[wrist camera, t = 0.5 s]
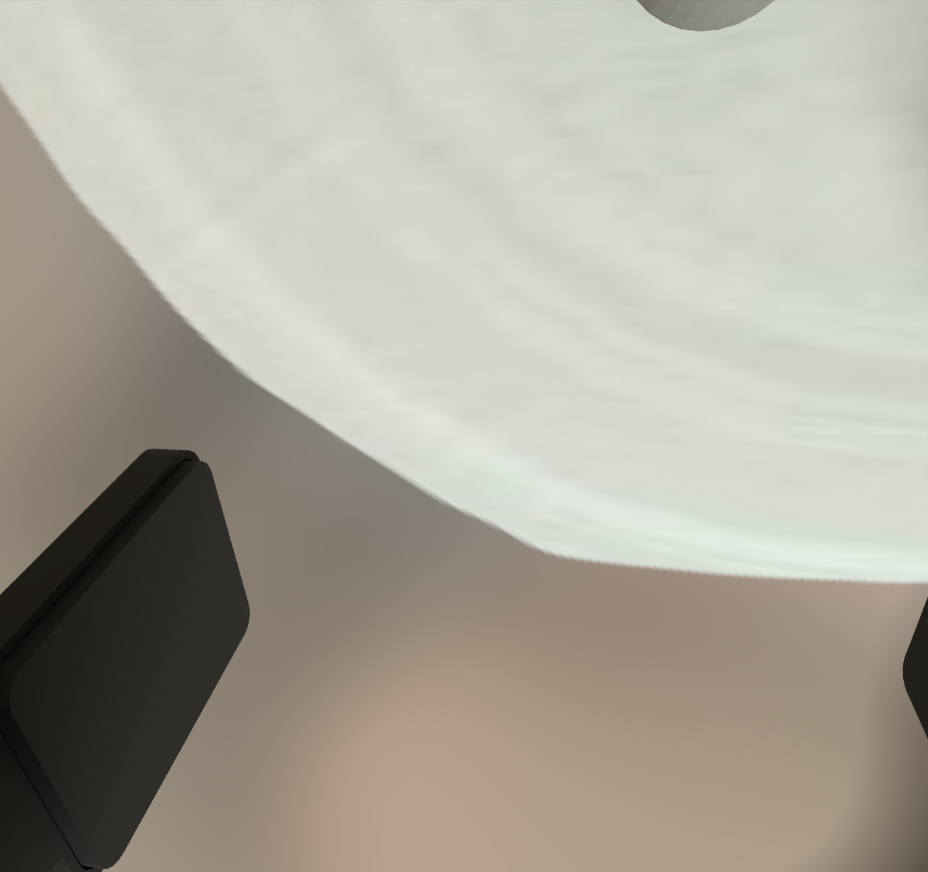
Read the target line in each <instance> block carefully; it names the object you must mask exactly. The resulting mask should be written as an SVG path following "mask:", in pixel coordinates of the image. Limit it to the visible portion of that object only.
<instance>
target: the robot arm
mask: <svg viewBox="0 0 928 872" xmlns="http://www.w3.org/2000/svg"><path fill="white" fill-rule="evenodd" d="M249 616H250V609H249V604H248V600H247V597H246V593H245V589H244V586H243V583H242V579H241V575H240V572H239V568H238V565H237V561H236V558H235V554H234V550H233V547H232V543H231V540H230V536H229V532H228V529H227V525H226V522H225V518H224V515H223V511H222V507H221V504H220V500H219V497H218V494H217V490H216V486H215V483H214V479H213V476H212V472H211V469H210V467H209V466H208V465H207V463H205V462H203V461H200V460H199V458H198V456H197V455H196V454H195V453H194V452H192V451H190V450H171V449H149V450H146V451H145V452H143V453H142V454H141V455H140V456H139V457H138V458H137V459H136V460H135V461H134V462H133V463H132V464H131V465H130V466H129V467H128V468H127V469H126V470H125V471H124V472H123V473H122V474H121V475H120V476H119V477H118V478H117V479H116V480H115V481H114V482H113V483H112V484H111V485H110V486H109V487H108V488H107V489H106V490H105V491H104V492H103V493H102V494H101V495H100V496H99V497H98V498H97V499H96V500H95V501H94V502H93V503H92V504H91V505H90V506H89V507H88V508H87V509H86V510H85V511H84V512H83V513H82V514H81V515H80V516H79V517H78V518H77V519H76V520H75V521H74V522H73V523H72V524H71V525H70V526H69V527H68V528H67V529H66V530H65V531H64V532H63V533H62V534H61V535H60V536H59V537H58V538H57V539H56V540H55V541H54V542H53V543H52V544H51V545H50V546H49V547H48V548H47V549H46V550H45V551H44V552H43V553H42V554H41V555H40V556H39V557H38V558H37V559H36V560H35V561H34V562H33V563H32V564H31V565H30V566H29V567H28V568H27V569H26V570H25V571H24V572H23V573H22V574H21V575H20V576H19V577H18V578H17V579H16V580H15V581H14V582H13V583H12V584H11V585H10V586H9V587H8V588H6V589H5V591H4V592H2V594H1V595H0V872H102V870H103V869H108V868H110V867H112V866H113V865H114V864H115V863H116V862H117V861H118V860H119V859H120V857H121V856H122V854H123V853H124V851H125V849H126V847H127V846H128V844H129V842H130V840H131V838H132V836H133V835H134V833H135V831H136V829H137V827H138V825H139V824H140V822H141V820H142V818H143V817H144V815H145V813H146V811H147V809H148V808H149V806H150V804H151V802H152V800H153V799H154V797H155V795H156V793H157V791H158V790H159V788H160V786H161V784H162V782H163V780H164V779H165V777H166V775H167V773H168V772H169V770H170V768H171V766H172V764H173V763H174V761H175V759H176V757H177V755H178V753H179V752H180V750H181V748H182V746H183V744H184V743H185V741H186V739H187V737H188V735H189V734H190V732H191V730H192V728H193V726H194V725H195V723H196V721H197V719H198V717H199V715H200V714H201V712H202V710H203V708H204V706H205V705H206V703H207V701H208V699H209V698H210V696H211V694H212V692H213V690H214V689H215V687H216V685H217V683H218V681H219V680H220V678H221V676H222V674H223V672H224V670H225V669H226V667H227V665H228V663H229V661H230V660H231V658H232V656H233V654H234V652H235V650H236V649H237V647H238V645H239V643H240V642H241V640H242V638H243V636H244V634H245V632H246V630H247V627H248V623H249ZM903 680H904V685H905V688H906V691H907V693H908V695H909V698H910V700H911V702H912V704H913V707H914V709H915V711H916V713H917V715H918V718H919V720H920V722H921V725H922V727H923V729H924V731H925V733H926V736H927V738H928V598H927V601H926V603H925V606H924V608H923V611H922V614H921V616H920V619H919V622H918V624H917V627H916V629H915V632H914V634H913V637H912V640H911V642H910V645H909V648H908V650H907V653H906V655H905V658H904V662H903Z"/></svg>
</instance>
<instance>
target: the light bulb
mask: <svg viewBox="0 0 928 872" xmlns="http://www.w3.org/2000/svg"><path fill="white" fill-rule="evenodd" d="M637 1H638V2H639V3H640V4H641V5H642V6H643V7H644V8H645V9H646V10H647V11H648V12H649V13H650V14H652V15H653V16H655V17H656V18H657V19H659V20H660V21H662V22H664V23H666V24H669V25H672V26H674V27H677V28H679V29H685V30H693V31H709V30H719V29H722V28H726V27H729V26H732V25H736V24H738V23H740V22H742V21H744V20H746V19H748V18H750V17H752V16H754V15H756V14H757V13H759V12H760V11H761V10H763V9H764V8H765V7H766V6H768V5H769V4H770V3H772V2H773V1H774V0H637Z"/></svg>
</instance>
